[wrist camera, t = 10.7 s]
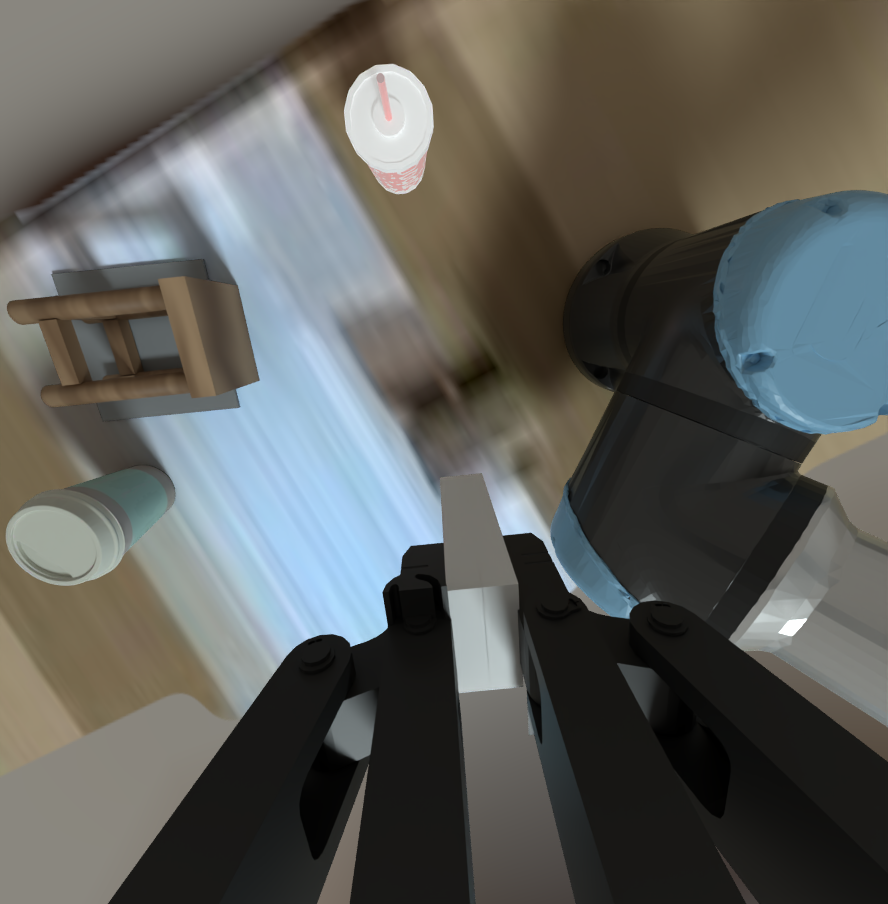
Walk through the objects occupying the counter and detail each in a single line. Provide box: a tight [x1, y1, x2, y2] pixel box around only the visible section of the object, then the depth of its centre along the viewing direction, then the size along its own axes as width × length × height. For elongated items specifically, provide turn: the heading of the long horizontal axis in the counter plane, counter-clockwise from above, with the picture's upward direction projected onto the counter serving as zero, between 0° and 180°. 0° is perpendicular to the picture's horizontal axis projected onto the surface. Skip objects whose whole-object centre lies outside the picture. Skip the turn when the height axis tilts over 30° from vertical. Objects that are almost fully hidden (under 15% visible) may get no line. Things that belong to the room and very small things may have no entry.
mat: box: [51, 259, 240, 421], centre depth 41 cm, size 14×14×1 cm
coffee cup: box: [6, 465, 175, 585], centre depth 40 cm, size 8×8×12 cm
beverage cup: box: [344, 64, 434, 194], centre depth 31 cm, size 6×6×14 cm
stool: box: [7, 276, 260, 407], centre depth 37 cm, size 9×9×14 cm
